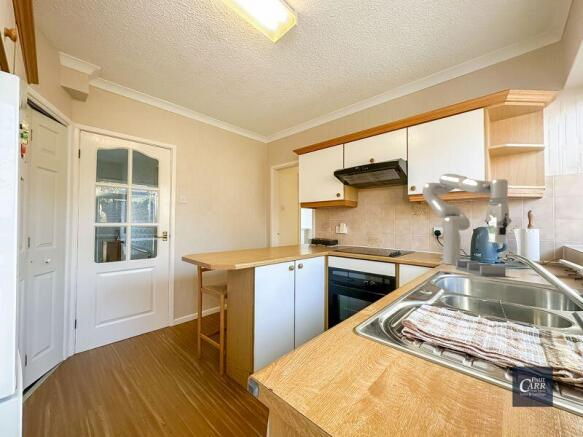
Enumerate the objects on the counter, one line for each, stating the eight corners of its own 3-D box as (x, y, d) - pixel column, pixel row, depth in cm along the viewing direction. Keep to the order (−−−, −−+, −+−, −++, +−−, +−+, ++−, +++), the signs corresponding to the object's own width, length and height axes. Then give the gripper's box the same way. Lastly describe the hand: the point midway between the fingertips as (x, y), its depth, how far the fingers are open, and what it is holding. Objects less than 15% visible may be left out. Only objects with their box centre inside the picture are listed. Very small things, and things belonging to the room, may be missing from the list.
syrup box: (506, 243, 132) (507, 217, 132) (495, 243, 132) (496, 216, 132) (497, 242, 138) (498, 217, 138) (487, 242, 138) (488, 216, 138)
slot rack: (456, 269, 141) (456, 260, 141) (477, 269, 141) (477, 261, 141) (481, 276, 123) (481, 266, 123) (505, 276, 124) (505, 266, 124)
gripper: (478, 202, 143) (477, 232, 144) (506, 200, 126) (505, 235, 126) (491, 202, 144) (489, 233, 144) (520, 201, 127) (518, 235, 127)
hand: (497, 233), depth 135 cm, fingers closed on syrup box, 5 cm apart
